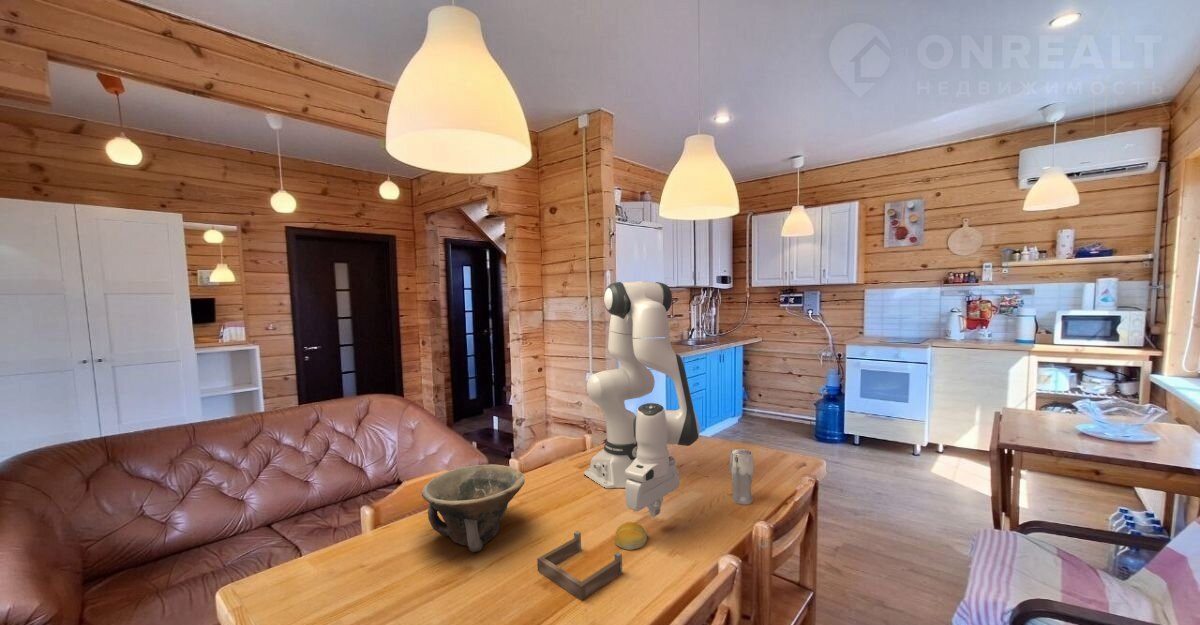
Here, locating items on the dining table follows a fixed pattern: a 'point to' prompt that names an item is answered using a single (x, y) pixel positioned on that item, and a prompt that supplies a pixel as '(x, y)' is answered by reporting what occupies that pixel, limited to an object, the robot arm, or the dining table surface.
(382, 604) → the dining table surface
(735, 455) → the beer glass
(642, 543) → the bread roll
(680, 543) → the dining table surface
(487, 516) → the bowl
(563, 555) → the bay
